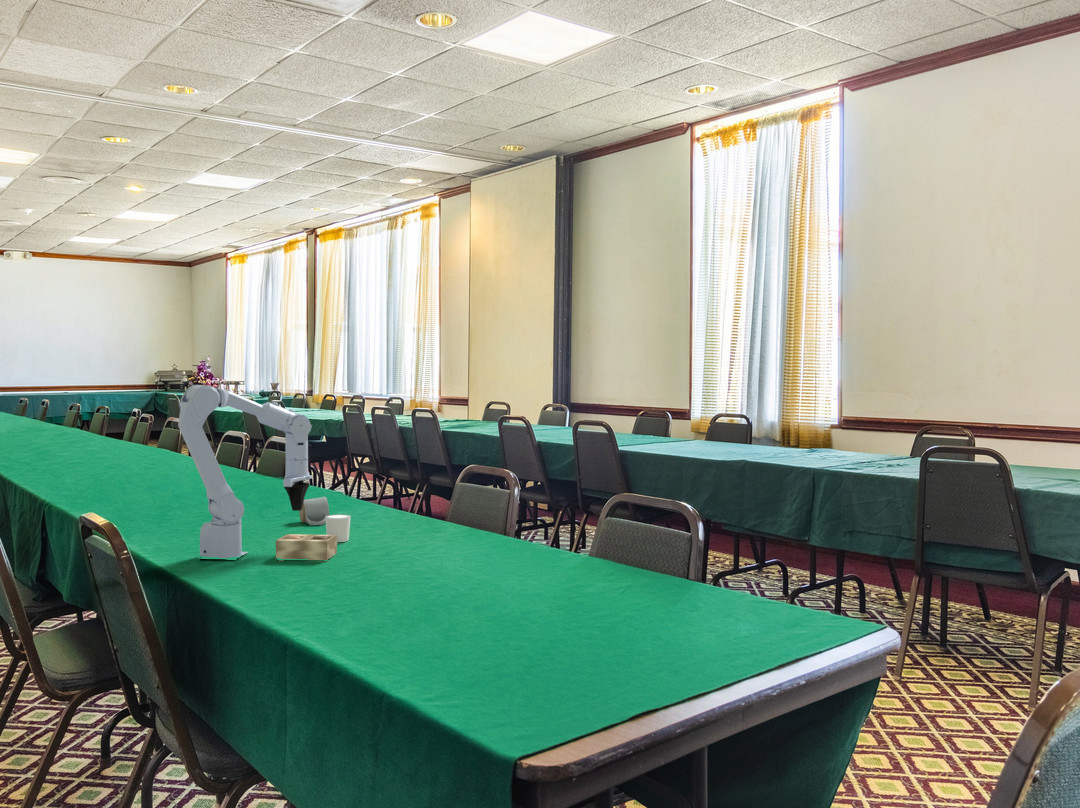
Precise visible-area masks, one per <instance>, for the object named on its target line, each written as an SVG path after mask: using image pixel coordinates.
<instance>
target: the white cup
mask: <svg viewBox="0 0 1080 808" xmlns="http://www.w3.org/2000/svg"><path fill="white" fill-rule="evenodd" d="M351 518H352V517H351V515H349V514H331V515H330V514H329V516H326V517H325V520H326V522H325V529H326V535H337V542H345V541H348V540H349V539H350V538H349V537H350V529H351V528H350V526H351ZM349 541H350V540H349ZM349 541H348V542H349ZM345 543H346V542H345Z"/></svg>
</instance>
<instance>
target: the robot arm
mask: <svg viewBox="0 0 1080 808" xmlns="http://www.w3.org/2000/svg"><path fill="white" fill-rule="evenodd" d="M225 407H230V408H233V409H236V410H238V411H242V412H245V413H247V414H250V415H253V416H255V417H256V419H257V421H258V422H259V423H260V424H261V425H265V426H268V427H270V428H273V429H275V430H278V431H280V432H281V431H282V432H283V433H284V434H285V450H284V451H285V475H284V478H283V480H282V481H283V482H282V483H283V484H282V485H283V488H284V489H285V491H286V493H287V495H288V498H289V501H290V502H289V503H290V506H291V510H292V511H294V512H295V511H300V510H302V506H303V502H304V500H305V497H306V494H307V491H308V489H309V488H310V482H307V481H308V480H310V479H313V474H312V475H310V472H309V441H308V439H309V438H308V437H309V433H310V432H311V430H312V426H313V425H312V424H311V421H310V419H308V417H307V416H306V415H304V414H299V413H296V412H295V410H294V409H292V408H289V409H288V408H285V407H282V406H279V402H276V401H272V402H269V401H267V402H265V403H262V404H261V403H258V402H256V401H254V400H251V399H249V398H246V397H244V396H242V395H239V394H237V393H235V392H232V391H231V390H227V389H223V388H218V387H214V386H212V385H202V384H194V385H191V386H189V387H188V388H186V390H185V391H184V393H183V395H182V397H181V398H180V410H179V416H178V423H177V425H178V429H179V431H180V433H181V436H182V437H183V441H184V442H185V445H186V447H187V449H188V452H189V453H190V456H191V458H192V460H193V464H194V465H195V467H196V470H197V472H198V474H199V475H200V478H201V480H202V483H203V484H204V487H205V489H206V498H207V501H208V504H207V506H208V508H207V509H208V511H209V513H210V515H211V516H212V517H211V520H210V521H209V522H207V521H206V522H205V523H203V524H202V526H200V527H201V528H200V532H199V557H200V556H204V557H218V558H230V557H237V556H238V557H239V556H241V555H244V554H246V553H248V551H243V550H242V547H243V546H242V544H243V543H242V517H244V513H245V507H244V504H243V502H242V500H240V499H238V498H237V496H236V495H235V492H234V491H233V489H232V488H231V487H230V485H229V484H228V483H227V480H226V478H225V476H224V473H223V471H222V469H221V466H220V464H219V462H218V460H217V458H216V455H215V453H214V450H213V449H212V446H211V444H210V441H209V439H208V437H207V435H206V432H205V430H204V428H203V426H204V424H205V422H206V420H207V418H208V417H209V415H210V414H211V413H213V412H214V411H215V410H216V409H217V408H225ZM304 481H305V482H304ZM248 554H249V553H248ZM246 555H247V554H246ZM244 556H245V555H244Z"/></svg>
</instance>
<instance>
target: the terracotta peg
mask: <svg viewBox="0 0 1080 808" xmlns="http://www.w3.org/2000/svg"><path fill="white" fill-rule="evenodd" d="M300 538H301V536H298V535H291V536H286V539H300Z"/></svg>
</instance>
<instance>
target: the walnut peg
mask: <svg viewBox="0 0 1080 808" xmlns="http://www.w3.org/2000/svg"><path fill="white" fill-rule="evenodd" d="M327 539H328V537H327V536H315V537H313V540H327Z"/></svg>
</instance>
